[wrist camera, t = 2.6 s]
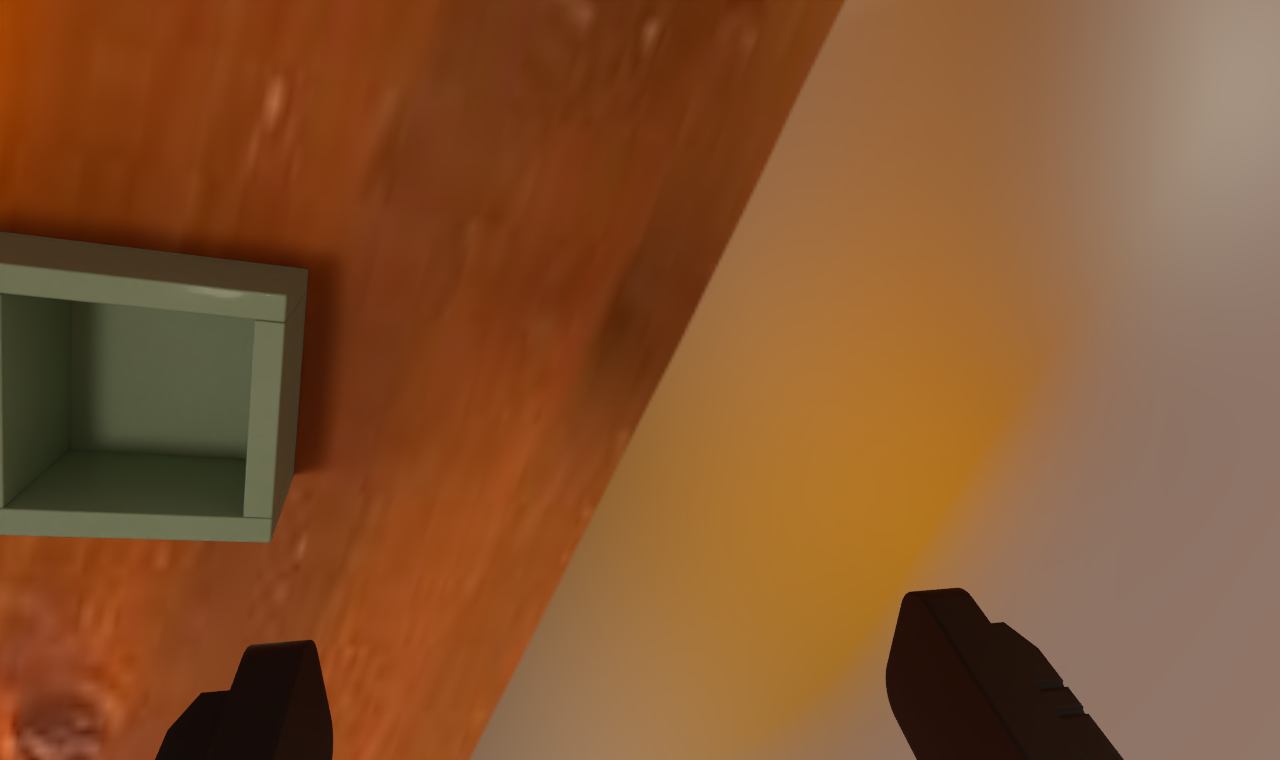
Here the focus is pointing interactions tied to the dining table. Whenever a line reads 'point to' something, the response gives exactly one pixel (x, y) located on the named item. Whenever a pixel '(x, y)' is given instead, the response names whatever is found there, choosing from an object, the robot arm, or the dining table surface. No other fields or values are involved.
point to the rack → (145, 391)
